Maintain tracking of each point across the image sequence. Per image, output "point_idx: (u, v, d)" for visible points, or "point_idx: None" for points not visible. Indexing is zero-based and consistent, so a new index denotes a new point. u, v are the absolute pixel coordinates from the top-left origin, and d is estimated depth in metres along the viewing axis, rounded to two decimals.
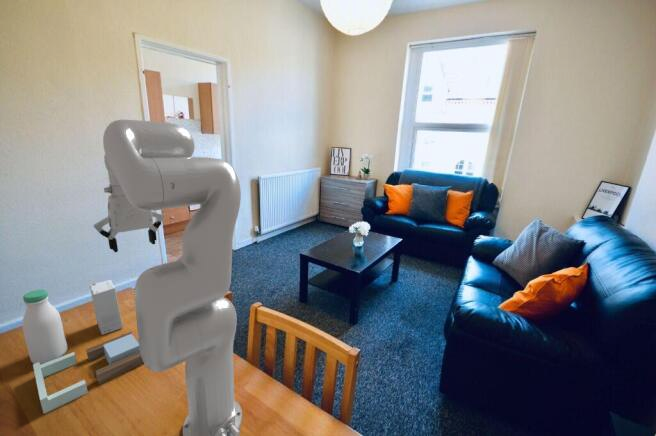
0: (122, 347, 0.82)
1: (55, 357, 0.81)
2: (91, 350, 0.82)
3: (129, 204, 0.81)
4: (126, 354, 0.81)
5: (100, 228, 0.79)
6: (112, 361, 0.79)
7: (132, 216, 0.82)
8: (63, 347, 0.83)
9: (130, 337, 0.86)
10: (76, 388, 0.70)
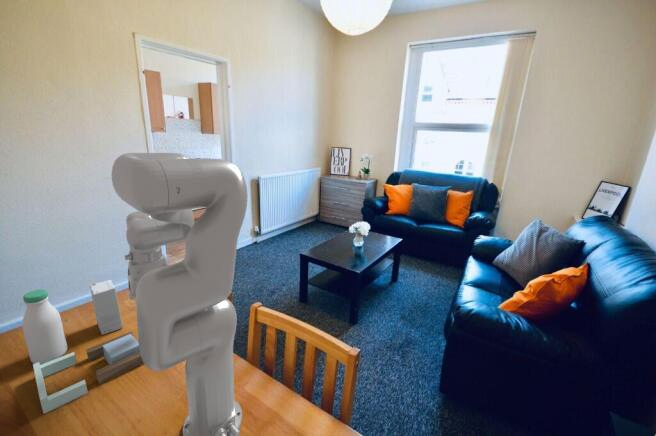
0: (122, 347, 0.82)
1: (55, 357, 0.81)
2: (91, 350, 0.82)
3: (149, 269, 0.82)
4: (127, 353, 0.81)
5: (136, 296, 0.83)
6: (113, 361, 0.79)
7: None
8: (63, 347, 0.83)
9: (130, 337, 0.86)
10: (76, 388, 0.70)
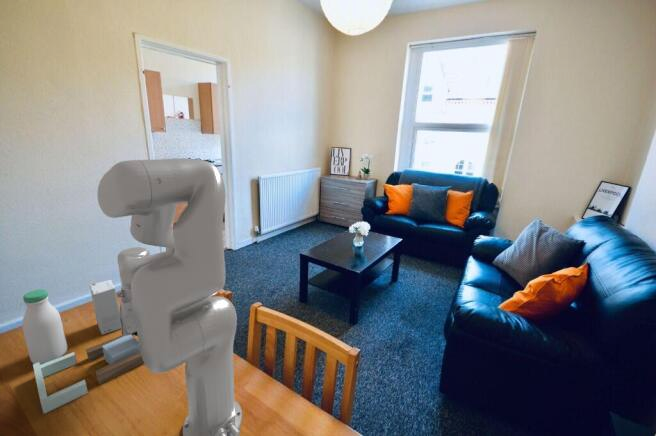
0: (122, 347, 0.82)
1: (55, 357, 0.81)
2: (91, 350, 0.82)
3: None
4: (128, 353, 0.81)
5: None
6: (114, 361, 0.79)
7: None
8: (63, 347, 0.83)
9: (129, 337, 0.86)
10: (76, 388, 0.70)
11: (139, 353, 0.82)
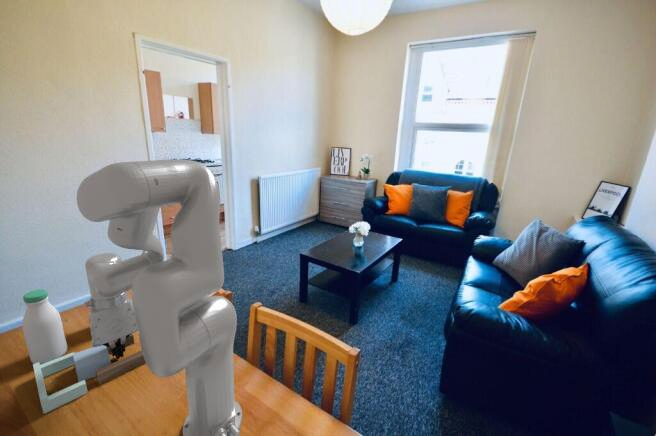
0: (91, 358, 0.78)
1: (55, 357, 0.81)
2: None
3: (111, 315, 0.77)
4: (95, 365, 0.77)
5: None
6: (78, 373, 0.74)
7: (115, 326, 0.78)
8: (63, 347, 0.83)
9: (103, 346, 0.82)
10: (76, 388, 0.70)
11: (139, 353, 0.82)
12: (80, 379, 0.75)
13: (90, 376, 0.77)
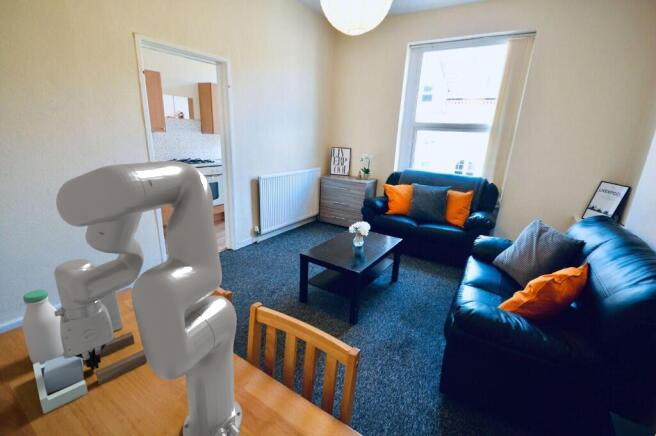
0: (62, 367, 0.74)
1: (55, 357, 0.81)
2: (91, 350, 0.82)
3: (84, 325, 0.73)
4: (64, 375, 0.73)
5: None
6: (46, 383, 0.71)
7: (88, 336, 0.74)
8: None
9: None
10: (76, 388, 0.70)
11: (139, 353, 0.82)
12: (48, 389, 0.72)
13: (59, 386, 0.73)
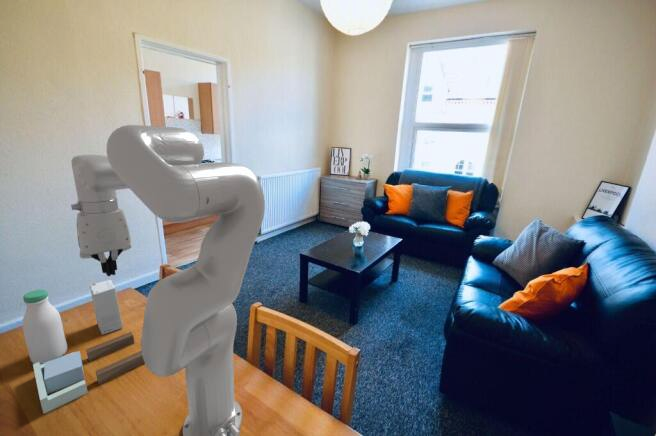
0: (62, 367, 0.74)
1: (55, 357, 0.81)
2: (91, 350, 0.82)
3: (101, 222, 0.71)
4: (65, 375, 0.73)
5: (87, 254, 0.72)
6: (47, 383, 0.71)
7: (105, 236, 0.72)
8: (63, 347, 0.83)
9: (77, 355, 0.78)
10: (76, 388, 0.70)
11: (139, 353, 0.82)
12: (49, 390, 0.72)
13: (60, 387, 0.73)
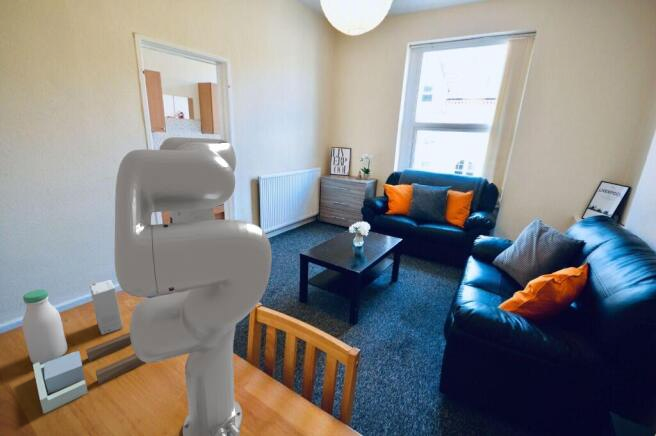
0: (62, 367, 0.74)
1: (55, 357, 0.81)
2: (91, 350, 0.82)
3: None
4: (65, 375, 0.73)
5: None
6: (47, 383, 0.71)
7: (196, 218, 0.73)
8: (63, 347, 0.83)
9: (76, 354, 0.78)
10: (76, 388, 0.70)
11: None
12: (49, 390, 0.72)
13: (61, 386, 0.73)
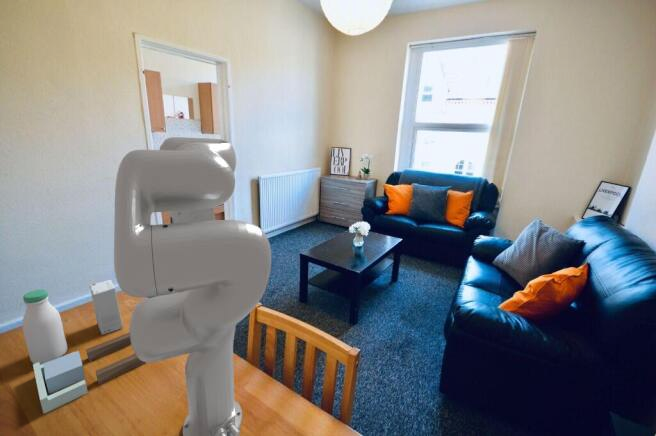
0: (62, 367, 0.74)
1: (55, 357, 0.81)
2: (91, 350, 0.82)
3: None
4: (66, 375, 0.73)
5: None
6: (48, 383, 0.71)
7: (196, 218, 0.73)
8: (63, 347, 0.83)
9: (76, 354, 0.78)
10: (76, 388, 0.70)
11: None
12: (50, 390, 0.72)
13: (61, 386, 0.73)
